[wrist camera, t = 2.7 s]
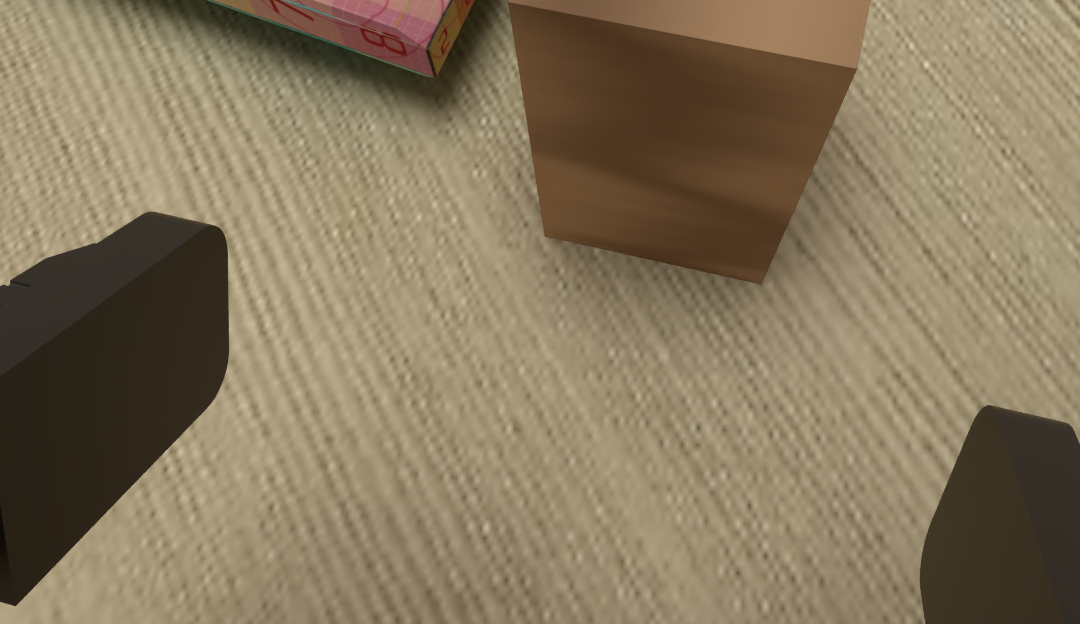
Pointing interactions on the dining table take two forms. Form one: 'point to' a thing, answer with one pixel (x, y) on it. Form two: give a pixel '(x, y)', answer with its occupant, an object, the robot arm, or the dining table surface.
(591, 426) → the dining table surface
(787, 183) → the walnut block
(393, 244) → the dining table surface
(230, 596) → the dining table surface
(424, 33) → the puzzle game
